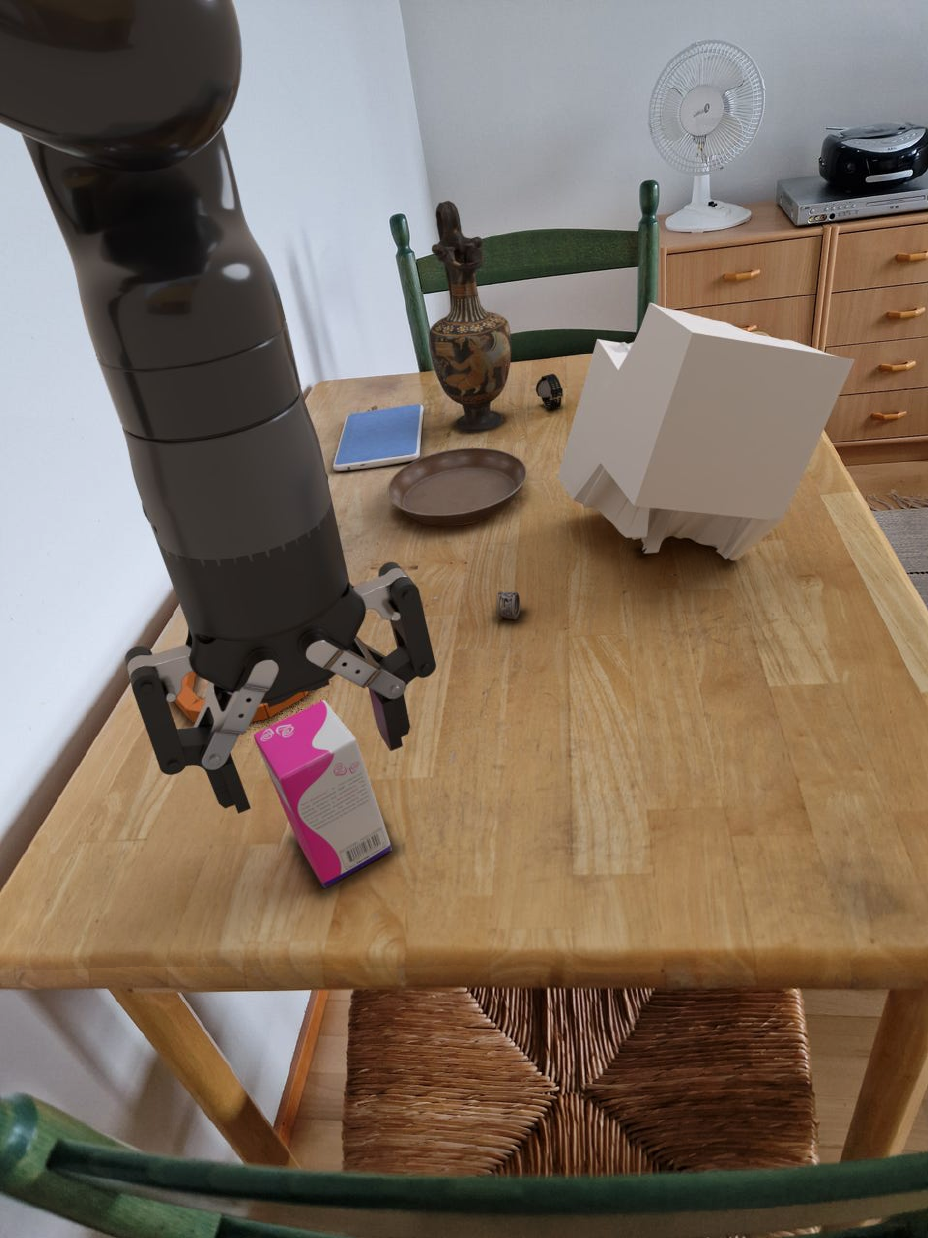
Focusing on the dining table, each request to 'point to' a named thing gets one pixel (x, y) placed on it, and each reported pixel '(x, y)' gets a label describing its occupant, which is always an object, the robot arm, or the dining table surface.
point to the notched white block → (698, 430)
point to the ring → (194, 705)
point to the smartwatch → (550, 391)
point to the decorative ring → (508, 605)
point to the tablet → (380, 438)
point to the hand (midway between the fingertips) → (318, 769)
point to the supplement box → (324, 791)
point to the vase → (468, 330)
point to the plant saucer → (457, 485)
